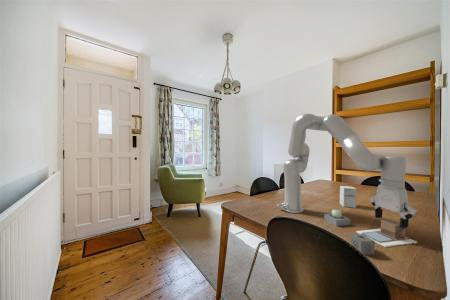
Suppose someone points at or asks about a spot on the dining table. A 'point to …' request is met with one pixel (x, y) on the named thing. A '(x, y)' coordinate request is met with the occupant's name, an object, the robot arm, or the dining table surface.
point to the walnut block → (392, 229)
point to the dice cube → (363, 243)
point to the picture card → (385, 238)
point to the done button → (336, 214)
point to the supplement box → (348, 196)
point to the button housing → (337, 220)
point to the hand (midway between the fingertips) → (390, 222)
